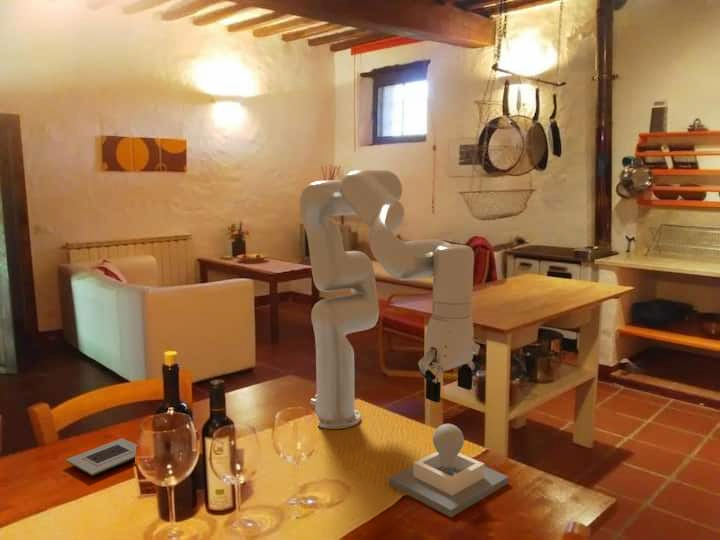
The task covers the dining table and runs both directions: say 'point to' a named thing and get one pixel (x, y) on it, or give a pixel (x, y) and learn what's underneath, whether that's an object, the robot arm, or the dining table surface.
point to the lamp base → (448, 483)
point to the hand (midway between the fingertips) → (449, 394)
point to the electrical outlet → (104, 457)
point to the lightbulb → (448, 446)
